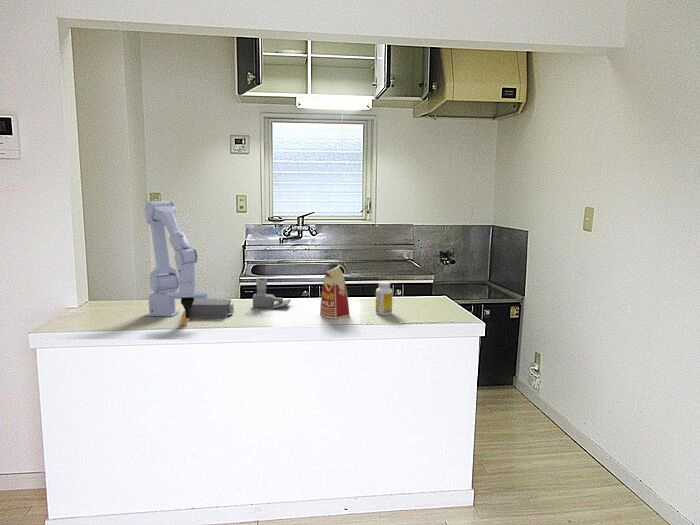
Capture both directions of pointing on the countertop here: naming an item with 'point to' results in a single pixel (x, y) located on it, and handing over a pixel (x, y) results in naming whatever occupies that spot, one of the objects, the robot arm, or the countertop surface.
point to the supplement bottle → (384, 298)
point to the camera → (266, 297)
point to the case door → (184, 318)
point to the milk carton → (334, 295)
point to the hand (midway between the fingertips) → (188, 317)
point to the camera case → (211, 308)
